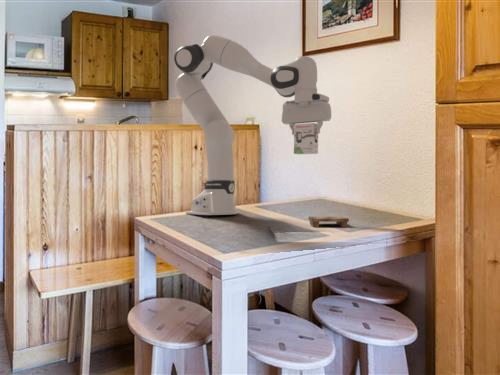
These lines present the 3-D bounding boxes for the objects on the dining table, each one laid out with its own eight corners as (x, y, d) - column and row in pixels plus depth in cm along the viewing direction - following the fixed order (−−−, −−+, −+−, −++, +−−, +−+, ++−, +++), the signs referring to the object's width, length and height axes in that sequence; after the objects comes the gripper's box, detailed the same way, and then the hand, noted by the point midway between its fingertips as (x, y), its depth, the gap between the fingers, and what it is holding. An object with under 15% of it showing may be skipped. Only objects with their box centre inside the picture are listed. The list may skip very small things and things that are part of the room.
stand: (312, 227, 158) (312, 218, 158) (308, 224, 169) (308, 216, 169) (348, 227, 158) (348, 218, 158) (342, 224, 169) (342, 216, 169)
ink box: (293, 153, 175) (293, 123, 175) (299, 154, 179) (299, 125, 179) (313, 153, 170) (313, 122, 170) (318, 153, 174) (318, 123, 174)
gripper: (278, 100, 177) (278, 135, 177) (326, 94, 166) (326, 131, 166) (286, 102, 183) (286, 136, 183) (333, 97, 171) (333, 133, 171)
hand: (305, 134), depth 174 cm, fingers closed on ink box, 8 cm apart
